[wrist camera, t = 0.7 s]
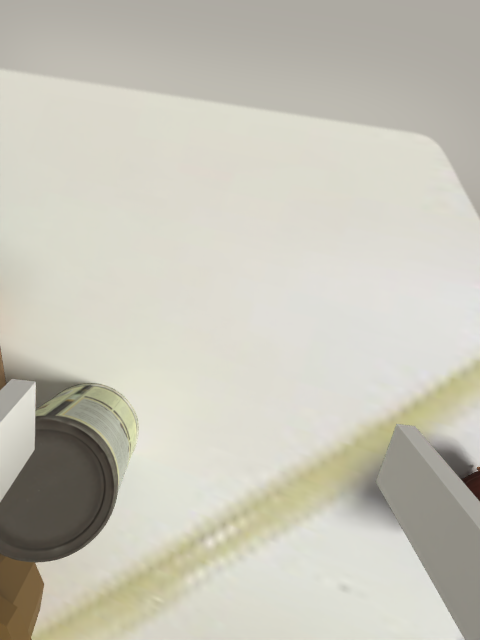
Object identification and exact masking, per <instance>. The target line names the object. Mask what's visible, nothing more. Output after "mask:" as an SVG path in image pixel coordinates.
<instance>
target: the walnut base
mask: <svg viewBox="0 0 480 640" xmlns="http://www.w3.org/2000/svg"><path fill="white" fill-rule="evenodd" d="M5 385H6V380H5V374H4V368H3V361H2V355H1V348H0V390H1V389H2V388H3V387H4V386H5Z"/></svg>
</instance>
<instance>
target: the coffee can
mask: <svg viewBox="0 0 480 640" xmlns="http://www.w3.org/2000/svg"><path fill="white" fill-rule="evenodd" d="M137 439H138V419H137V416H136V414H135V411H134V409H133V407H132V406H131V404H130V403H129V401H128V400H127V399H126V398H125V397H124V396H123V395H122V394H120V393H119V392H117V391H116V390H114V389H112V388H110V387H107V386H104V385H100V384H81V385H76V386H73V387H70V388H68V389H66V390H64V391H62V392H61V393H59V394H58V395H57V396H56V397H55V398H53V399H51V400H50V401H48V402H47V403H45V404H44V405H42V406H41V407H39V408H38V409H36V410H35V450H34V451H33V453H32V454H31V456H30V457H29V459H28V460H27V462H26V463H25V465H24V467H23V468H22V470H21V471H20V473H19V474H18V476H17V477H16V479H15V480H14V482H13V483H12V485H11V487H10V488H9V490H8V491H7V493H6V494H5V496H4V497H3V499H2V500H1V502H0V554H1V555H3V556H6V557H9V558H11V559H14V560H18V561H24V562H46V561H53V560H57V559H60V558H63V557H66V556H69V555H71V554H73V553H75V552H77V551H78V550H80V549H82V548H83V547H85V546H86V545H87V544H89V543H90V542H91V541H92V540H93V539H94V538H95V537H96V536H97V535H98V534H99V533H100V532H101V530H102V529H103V528H104V526H105V525H106V523H107V521H108V520H109V518H110V516H111V514H112V511H113V509H114V506H115V503H116V499H117V493H118V490H119V487H120V485H121V482H122V479H123V477H124V474H125V471H126V469H127V466H128V463H129V460H130V457H131V455H132V453H133V451H134V449H135V446H136V443H137Z"/></svg>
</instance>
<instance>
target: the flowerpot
mask: <svg viewBox="0 0 480 640" xmlns="http://www.w3.org/2000/svg"><path fill="white" fill-rule="evenodd" d="M43 588H44V583H43V581H42V578H41V576H40V574H39V571H38V569H37V567H36V564H35V562H24V561H18V560H14V559H11V558H9V557H6V556H3V555H1V554H0V640H32V639H31V636H32V633H33V629H34V626H35V623H36V620H37V617H38V614H39V611H40V606H41V600H42V594H43Z"/></svg>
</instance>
